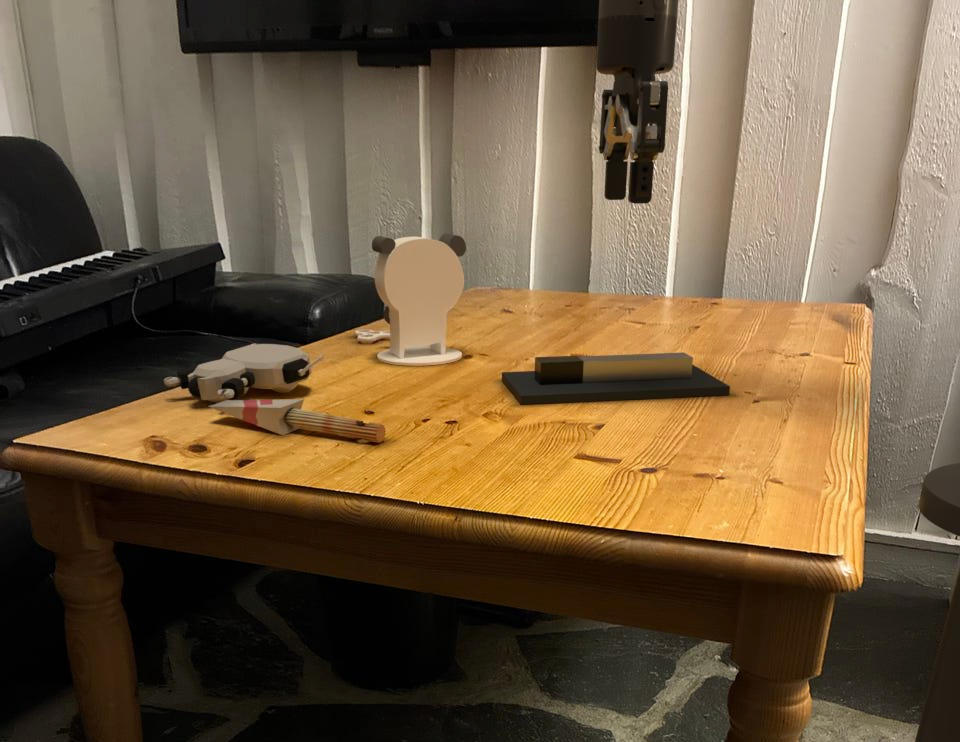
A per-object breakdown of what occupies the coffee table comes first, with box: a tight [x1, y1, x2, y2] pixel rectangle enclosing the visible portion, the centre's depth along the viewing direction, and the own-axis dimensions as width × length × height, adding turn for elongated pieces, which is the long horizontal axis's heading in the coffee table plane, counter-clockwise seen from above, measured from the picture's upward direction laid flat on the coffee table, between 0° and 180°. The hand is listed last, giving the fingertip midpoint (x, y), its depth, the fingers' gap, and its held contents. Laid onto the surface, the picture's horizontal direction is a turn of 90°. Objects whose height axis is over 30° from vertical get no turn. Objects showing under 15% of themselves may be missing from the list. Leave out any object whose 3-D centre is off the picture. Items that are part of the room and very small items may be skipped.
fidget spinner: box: [354, 329, 390, 343], centre depth 137 cm, size 7×6×1 cm
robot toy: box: [163, 343, 325, 404], centre depth 106 cm, size 12×4×15 cm
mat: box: [501, 364, 731, 406], centre depth 109 cm, size 24×12×1 cm, turn 99°
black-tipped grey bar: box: [534, 351, 694, 385], centre depth 108 cm, size 18×3×2 cm, turn 99°
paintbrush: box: [207, 398, 386, 444], centre depth 93 cm, size 4×3×20 cm
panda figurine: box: [371, 233, 467, 367], centre depth 122 cm, size 12×11×15 cm
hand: (626, 201), depth 97 cm, fingers open, 8 cm apart
